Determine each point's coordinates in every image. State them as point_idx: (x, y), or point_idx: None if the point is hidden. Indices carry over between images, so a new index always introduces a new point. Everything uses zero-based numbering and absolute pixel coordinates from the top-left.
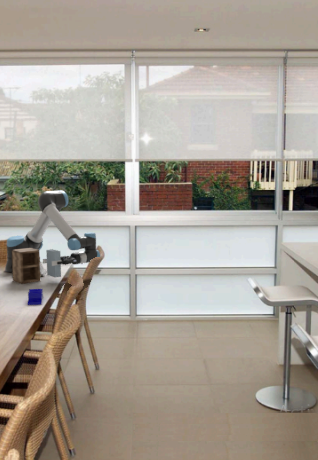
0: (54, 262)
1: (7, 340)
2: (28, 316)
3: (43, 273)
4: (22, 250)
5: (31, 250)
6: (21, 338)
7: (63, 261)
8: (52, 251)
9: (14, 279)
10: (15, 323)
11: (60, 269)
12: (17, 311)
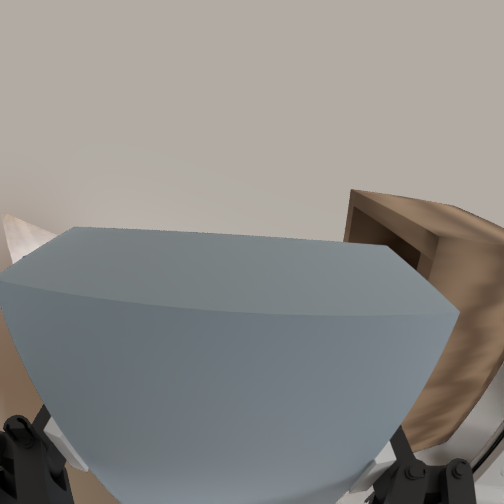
0: None
1: (15, 219)
2: (20, 245)
3: (491, 500)
4: (425, 206)
5: (414, 214)
6: (3, 223)
7: (19, 439)
8: (143, 230)
9: None
10: (27, 232)
11: (113, 491)
12: None
